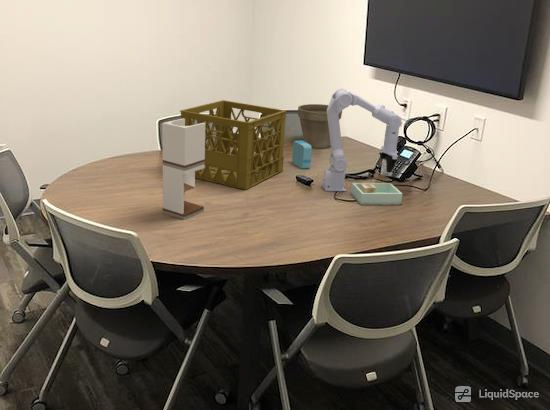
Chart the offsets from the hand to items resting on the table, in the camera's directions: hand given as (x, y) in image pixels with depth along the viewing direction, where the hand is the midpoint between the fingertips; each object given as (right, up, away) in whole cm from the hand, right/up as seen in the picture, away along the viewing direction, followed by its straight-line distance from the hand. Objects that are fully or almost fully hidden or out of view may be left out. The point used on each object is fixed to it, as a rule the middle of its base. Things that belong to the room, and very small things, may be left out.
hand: (386, 170), depth 259 cm
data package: (-37, +4, +31) cm, 49 cm away
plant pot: (-26, +19, +72) cm, 79 cm away
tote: (-7, -13, -9) cm, 18 cm away
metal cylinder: (0, -2, +1) cm, 2 cm away
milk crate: (-71, -1, +13) cm, 72 cm away
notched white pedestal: (-86, -19, -37) cm, 95 cm away
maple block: (-10, -12, -11) cm, 19 cm away
